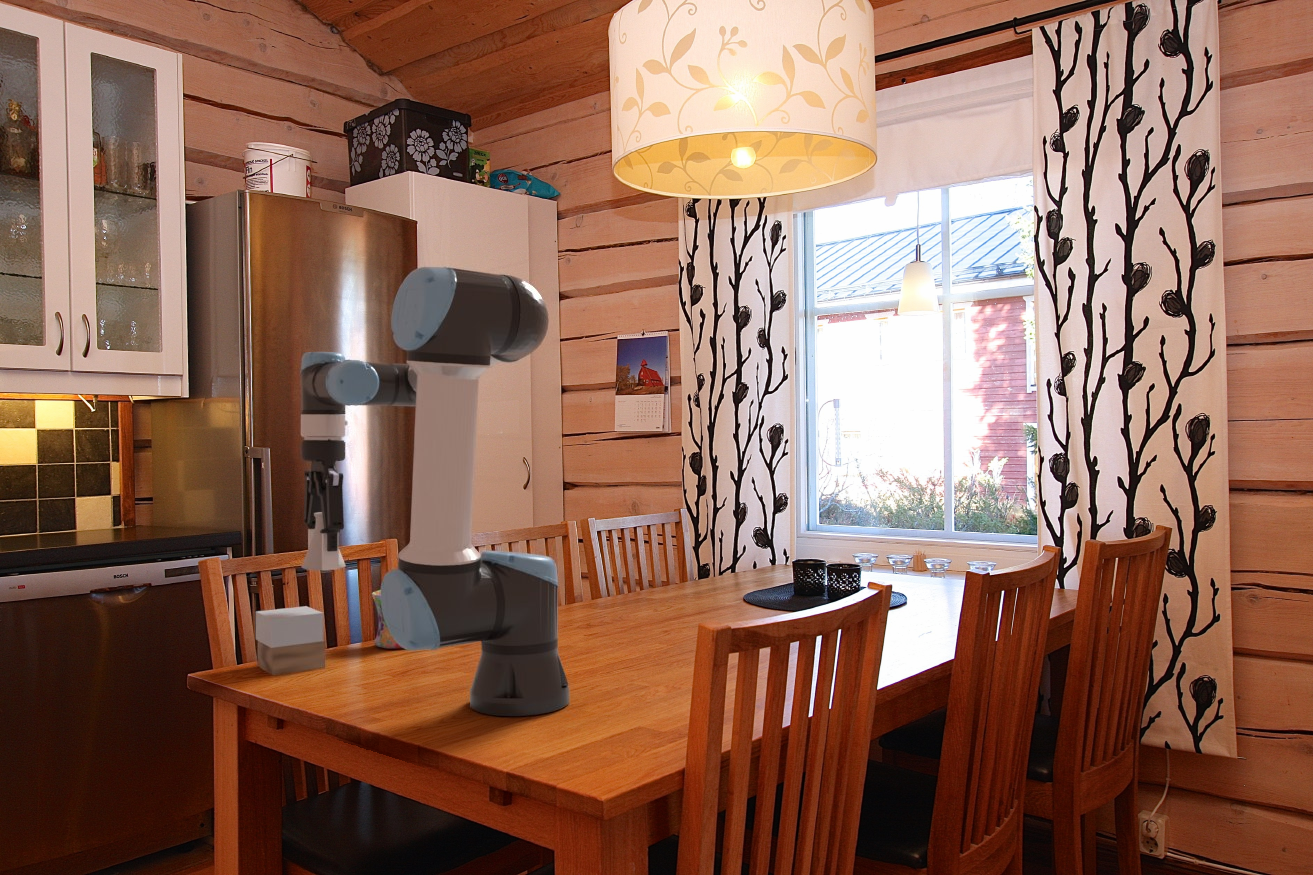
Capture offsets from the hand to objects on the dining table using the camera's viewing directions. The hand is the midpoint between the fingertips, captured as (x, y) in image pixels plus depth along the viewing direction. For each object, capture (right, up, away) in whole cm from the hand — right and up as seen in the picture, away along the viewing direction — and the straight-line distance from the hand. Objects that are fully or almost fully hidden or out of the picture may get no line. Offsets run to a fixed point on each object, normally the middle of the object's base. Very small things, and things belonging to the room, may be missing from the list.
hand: (323, 566), depth 176 cm
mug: (+10, -18, +18) cm, 27 cm away
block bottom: (-5, -18, -1) cm, 19 cm away
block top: (-6, -13, -1) cm, 14 cm away
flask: (0, -1, 0) cm, 1 cm away
